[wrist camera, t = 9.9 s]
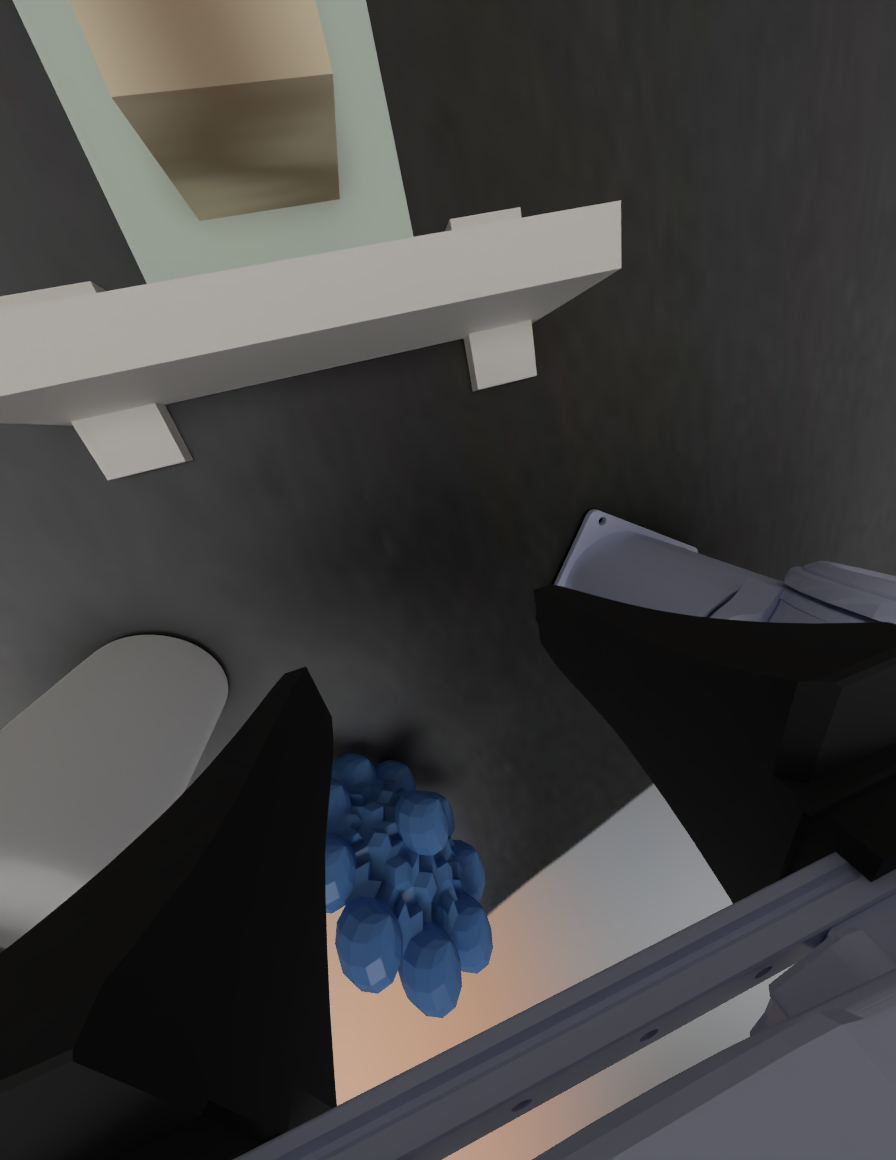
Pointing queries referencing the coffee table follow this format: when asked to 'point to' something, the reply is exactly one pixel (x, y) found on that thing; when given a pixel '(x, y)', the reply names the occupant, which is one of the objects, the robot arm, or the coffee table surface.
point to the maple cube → (223, 96)
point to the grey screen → (290, 324)
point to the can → (98, 767)
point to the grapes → (402, 886)
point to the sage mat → (191, 247)
